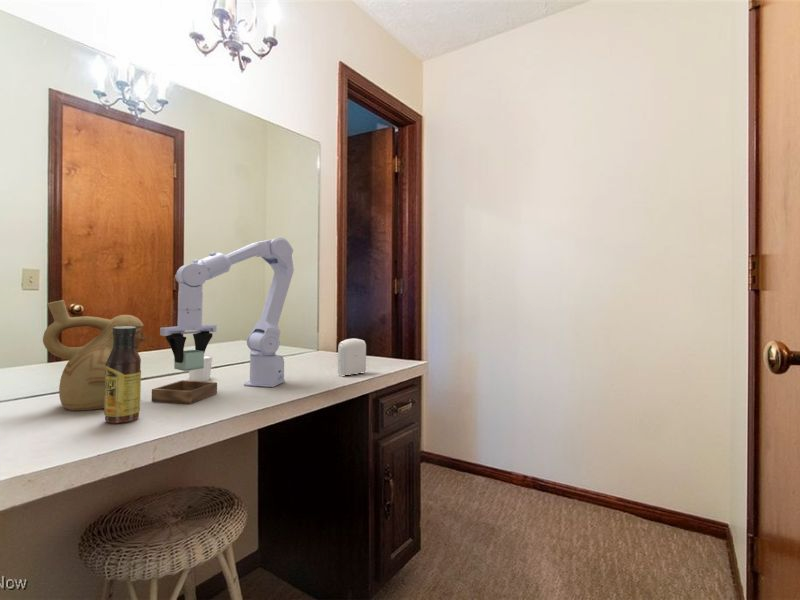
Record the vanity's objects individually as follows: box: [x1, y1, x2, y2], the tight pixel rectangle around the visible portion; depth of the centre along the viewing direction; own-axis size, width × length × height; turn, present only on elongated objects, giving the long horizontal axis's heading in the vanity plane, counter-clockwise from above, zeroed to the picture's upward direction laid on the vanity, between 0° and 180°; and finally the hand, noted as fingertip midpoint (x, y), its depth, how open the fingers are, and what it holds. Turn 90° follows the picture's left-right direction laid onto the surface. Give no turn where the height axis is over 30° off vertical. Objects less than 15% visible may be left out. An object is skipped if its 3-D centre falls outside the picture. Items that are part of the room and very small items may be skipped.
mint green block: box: [173, 349, 205, 372], centre depth 105 cm, size 5×5×4 cm
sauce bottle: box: [103, 326, 142, 425], centre depth 84 cm, size 7×6×20 cm
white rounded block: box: [188, 355, 213, 382], centre depth 123 cm, size 7×7×7 cm
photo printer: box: [337, 337, 367, 376], centre depth 135 cm, size 10×4×12 cm, turn 133°
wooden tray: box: [151, 379, 218, 405], centre depth 102 cm, size 11×11×3 cm
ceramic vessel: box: [42, 299, 147, 411], centre depth 95 cm, size 17×20×25 cm
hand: (189, 360), depth 105 cm, fingers closed on mint green block, 5 cm apart
